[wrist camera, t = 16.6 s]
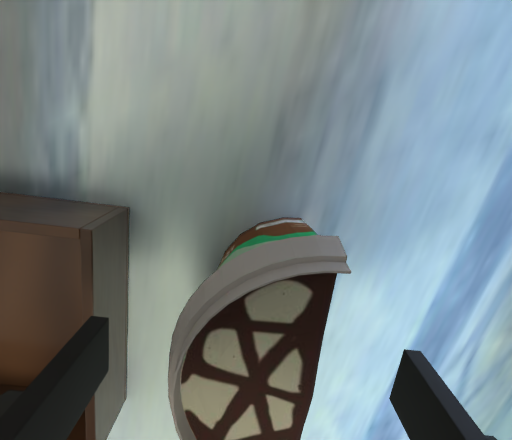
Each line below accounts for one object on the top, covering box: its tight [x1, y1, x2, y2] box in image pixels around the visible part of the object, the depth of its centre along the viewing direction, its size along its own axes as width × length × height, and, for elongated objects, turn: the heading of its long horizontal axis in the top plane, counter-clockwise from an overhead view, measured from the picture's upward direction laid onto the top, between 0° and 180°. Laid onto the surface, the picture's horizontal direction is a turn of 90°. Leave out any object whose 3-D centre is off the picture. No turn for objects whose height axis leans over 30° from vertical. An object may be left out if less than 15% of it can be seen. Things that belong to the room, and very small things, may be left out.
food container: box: [168, 218, 351, 440], centre depth 16 cm, size 12×6×10 cm, turn 172°
